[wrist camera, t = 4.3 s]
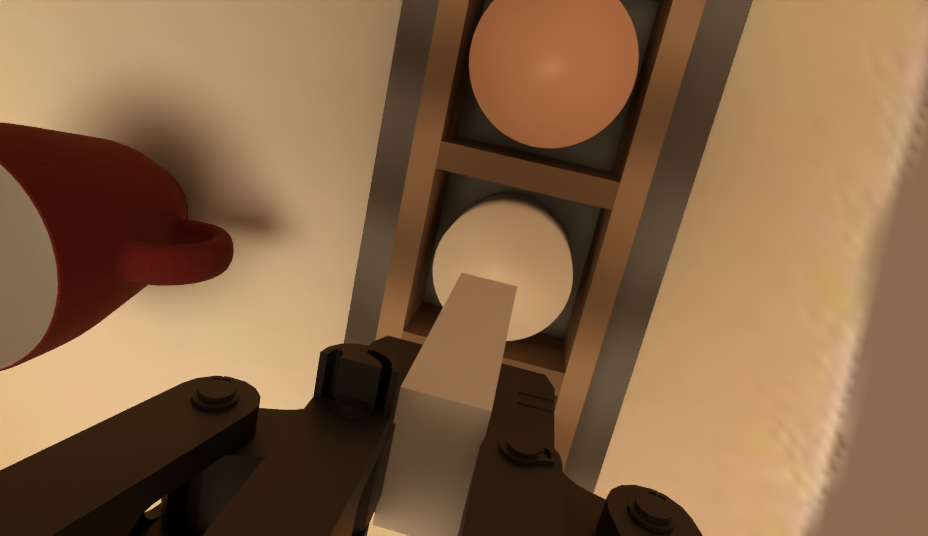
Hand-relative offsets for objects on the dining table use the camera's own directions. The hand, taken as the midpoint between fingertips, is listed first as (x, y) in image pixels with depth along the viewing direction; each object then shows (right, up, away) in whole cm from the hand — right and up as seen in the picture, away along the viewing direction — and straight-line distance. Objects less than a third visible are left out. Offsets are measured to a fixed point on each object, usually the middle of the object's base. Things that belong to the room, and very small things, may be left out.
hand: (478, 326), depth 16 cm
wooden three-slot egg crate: (+2, +2, +10) cm, 11 cm away
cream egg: (+2, +2, +9) cm, 10 cm away
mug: (-14, +4, +12) cm, 19 cm away
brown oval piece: (+3, +9, +6) cm, 11 cm away
